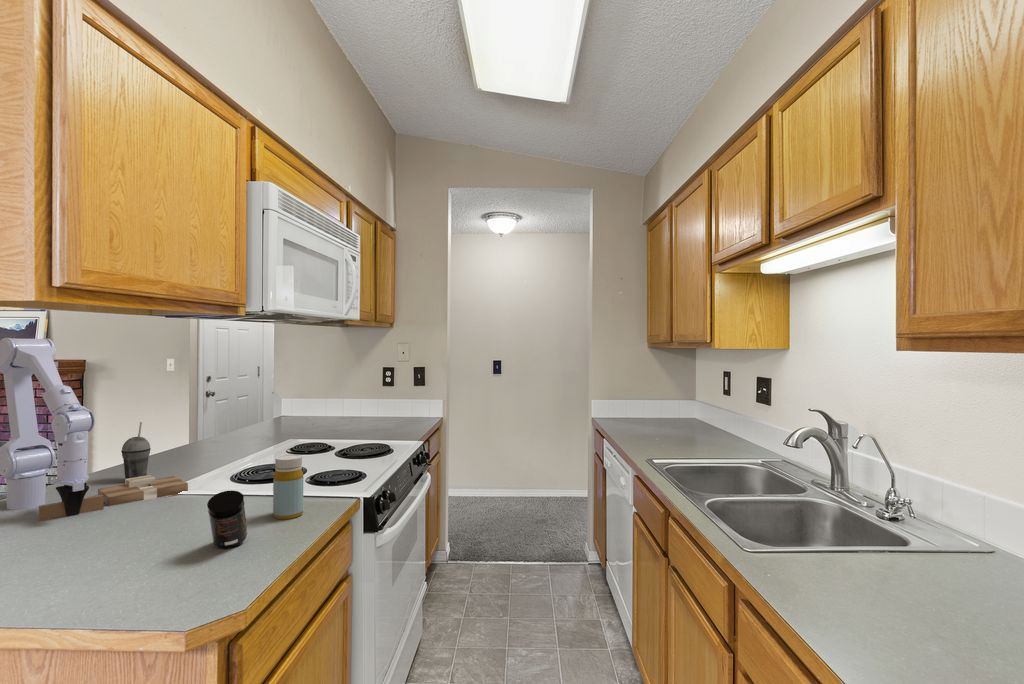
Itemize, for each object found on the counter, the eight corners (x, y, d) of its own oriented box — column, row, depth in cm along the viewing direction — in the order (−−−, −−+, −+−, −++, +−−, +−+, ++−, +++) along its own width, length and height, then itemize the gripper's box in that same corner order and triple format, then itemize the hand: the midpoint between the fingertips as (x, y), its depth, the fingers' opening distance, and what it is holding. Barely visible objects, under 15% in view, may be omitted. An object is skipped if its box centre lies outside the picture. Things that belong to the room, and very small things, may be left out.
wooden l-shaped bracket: (33, 519, 125) (33, 499, 125) (95, 507, 134) (95, 488, 134) (39, 528, 119) (39, 506, 119) (103, 515, 128) (103, 495, 128)
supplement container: (243, 523, 115) (239, 486, 111) (251, 542, 110) (247, 504, 106) (210, 535, 111) (204, 497, 107) (216, 555, 106) (210, 516, 102)
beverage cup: (116, 488, 153) (117, 422, 153) (144, 483, 159) (145, 419, 159) (126, 492, 149) (126, 424, 149) (154, 487, 155) (155, 421, 155)
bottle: (293, 509, 134) (293, 453, 134) (308, 515, 130) (309, 456, 130) (267, 517, 128) (268, 457, 128) (282, 522, 124) (283, 461, 124)
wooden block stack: (97, 503, 139) (97, 483, 139) (173, 489, 153) (173, 470, 153) (110, 514, 130) (110, 492, 130) (189, 498, 143) (189, 478, 144)
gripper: (45, 458, 126) (45, 512, 126) (56, 467, 116) (55, 526, 116) (82, 453, 131) (81, 505, 131) (95, 461, 122) (94, 518, 122)
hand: (72, 515), depth 124 cm, fingers closed on wooden l-shaped bracket
